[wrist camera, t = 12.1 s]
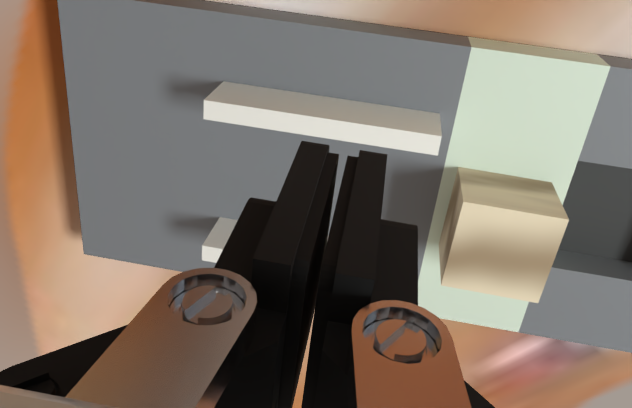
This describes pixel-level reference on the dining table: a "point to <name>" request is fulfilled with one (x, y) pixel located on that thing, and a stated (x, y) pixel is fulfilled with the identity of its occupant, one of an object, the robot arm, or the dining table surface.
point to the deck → (346, 140)
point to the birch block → (500, 234)
